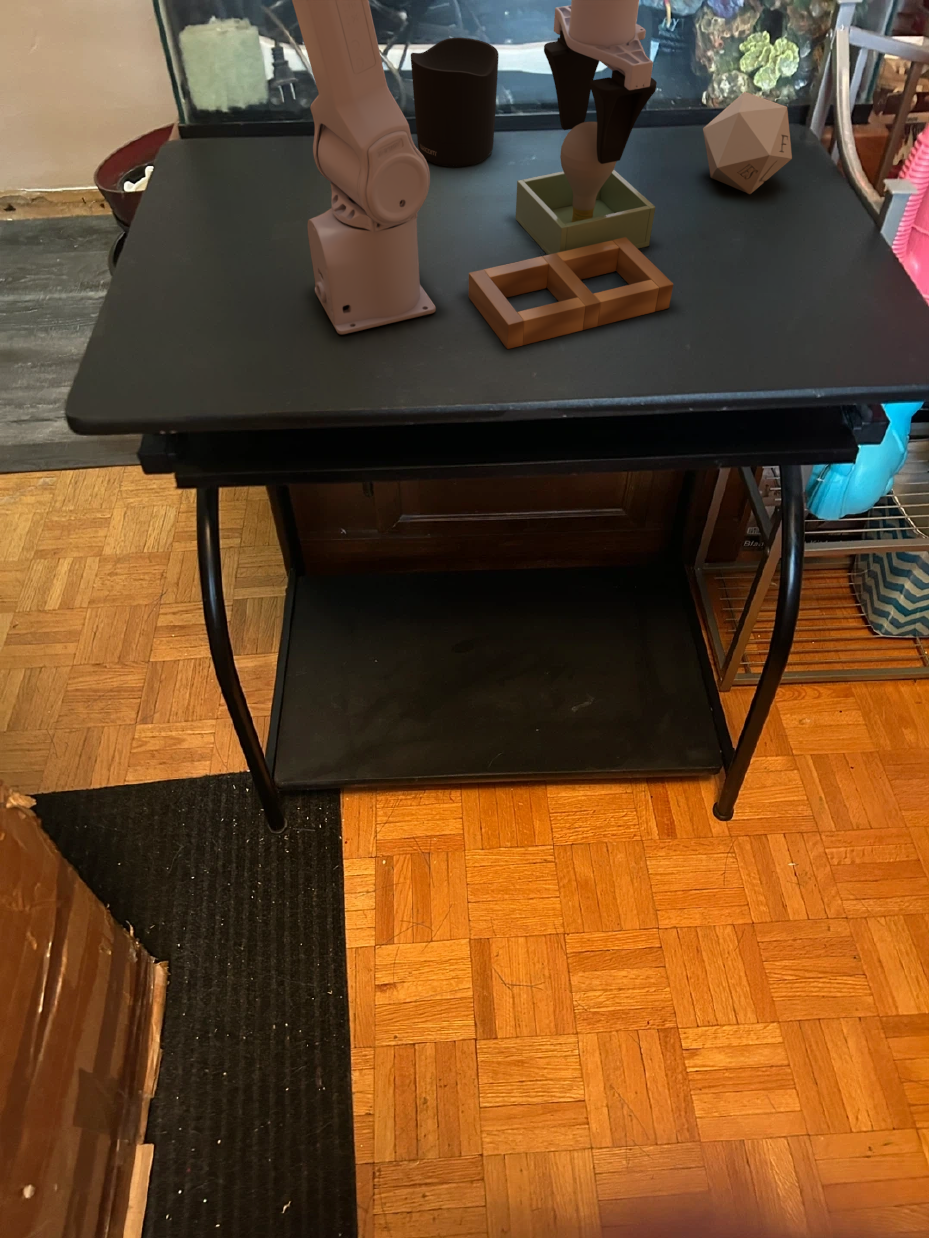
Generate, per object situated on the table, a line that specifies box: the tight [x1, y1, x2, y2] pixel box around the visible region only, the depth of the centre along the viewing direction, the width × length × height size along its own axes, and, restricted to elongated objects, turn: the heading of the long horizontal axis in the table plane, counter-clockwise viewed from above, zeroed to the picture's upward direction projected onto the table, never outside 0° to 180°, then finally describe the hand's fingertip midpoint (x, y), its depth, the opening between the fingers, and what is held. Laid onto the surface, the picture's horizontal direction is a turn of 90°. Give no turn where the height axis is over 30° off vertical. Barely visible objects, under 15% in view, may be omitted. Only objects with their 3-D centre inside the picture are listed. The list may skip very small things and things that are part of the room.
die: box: [702, 91, 793, 195], centre depth 94 cm, size 8×9×10 cm
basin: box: [515, 169, 656, 255], centre depth 89 cm, size 10×10×4 cm
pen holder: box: [410, 37, 500, 168], centre depth 98 cm, size 9×9×10 cm
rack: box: [468, 237, 674, 350], centre depth 82 cm, size 16×9×2 cm, turn 112°
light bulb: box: [559, 121, 618, 222], centre depth 86 cm, size 5×6×10 cm
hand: (590, 143), depth 84 cm, fingers open, 7 cm apart
